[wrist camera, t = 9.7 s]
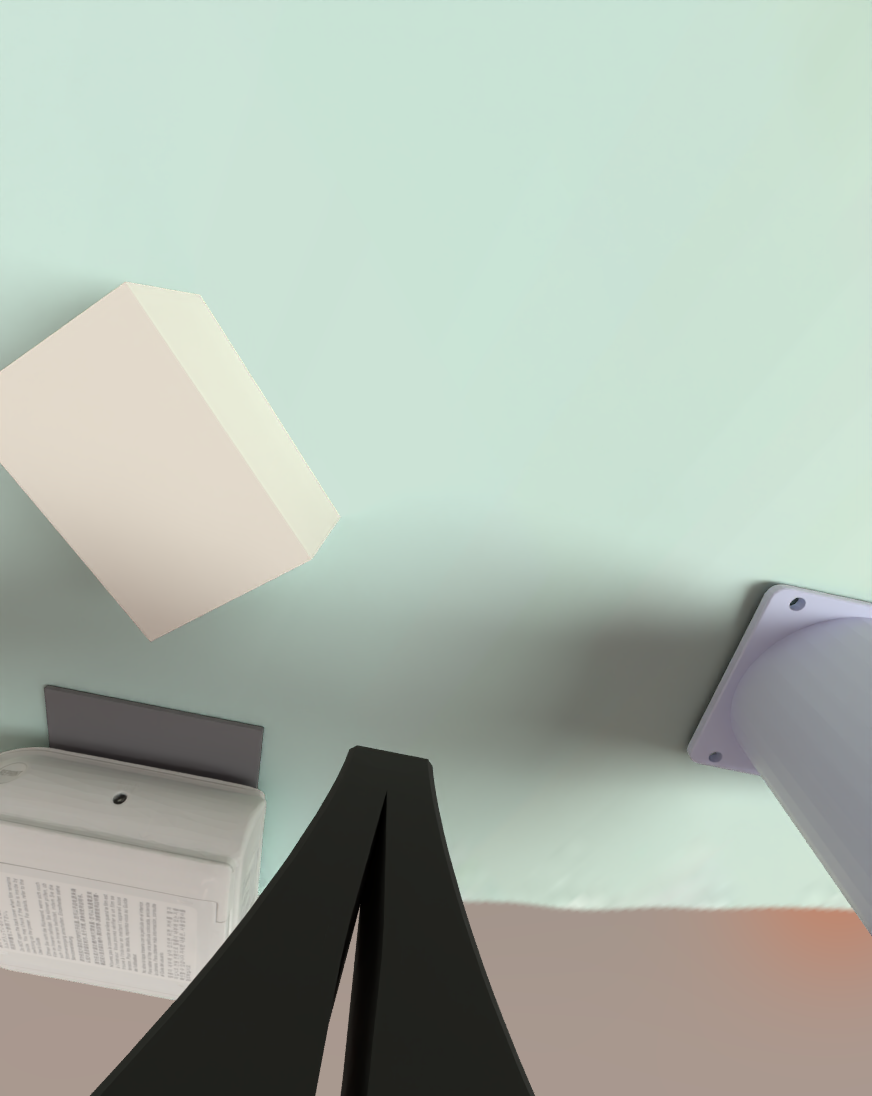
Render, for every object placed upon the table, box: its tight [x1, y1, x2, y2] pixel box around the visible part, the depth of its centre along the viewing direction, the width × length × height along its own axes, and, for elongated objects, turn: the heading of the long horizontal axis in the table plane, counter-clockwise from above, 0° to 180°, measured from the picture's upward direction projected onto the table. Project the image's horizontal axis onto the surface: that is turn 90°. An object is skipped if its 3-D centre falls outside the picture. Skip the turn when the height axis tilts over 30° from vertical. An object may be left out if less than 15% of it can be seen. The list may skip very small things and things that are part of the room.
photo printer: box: [0, 747, 266, 1000], centre depth 22 cm, size 10×4×12 cm
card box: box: [0, 282, 341, 642], centre depth 16 cm, size 6×8×4 cm
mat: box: [44, 685, 264, 789], centre depth 24 cm, size 9×14×1 cm, turn 168°
